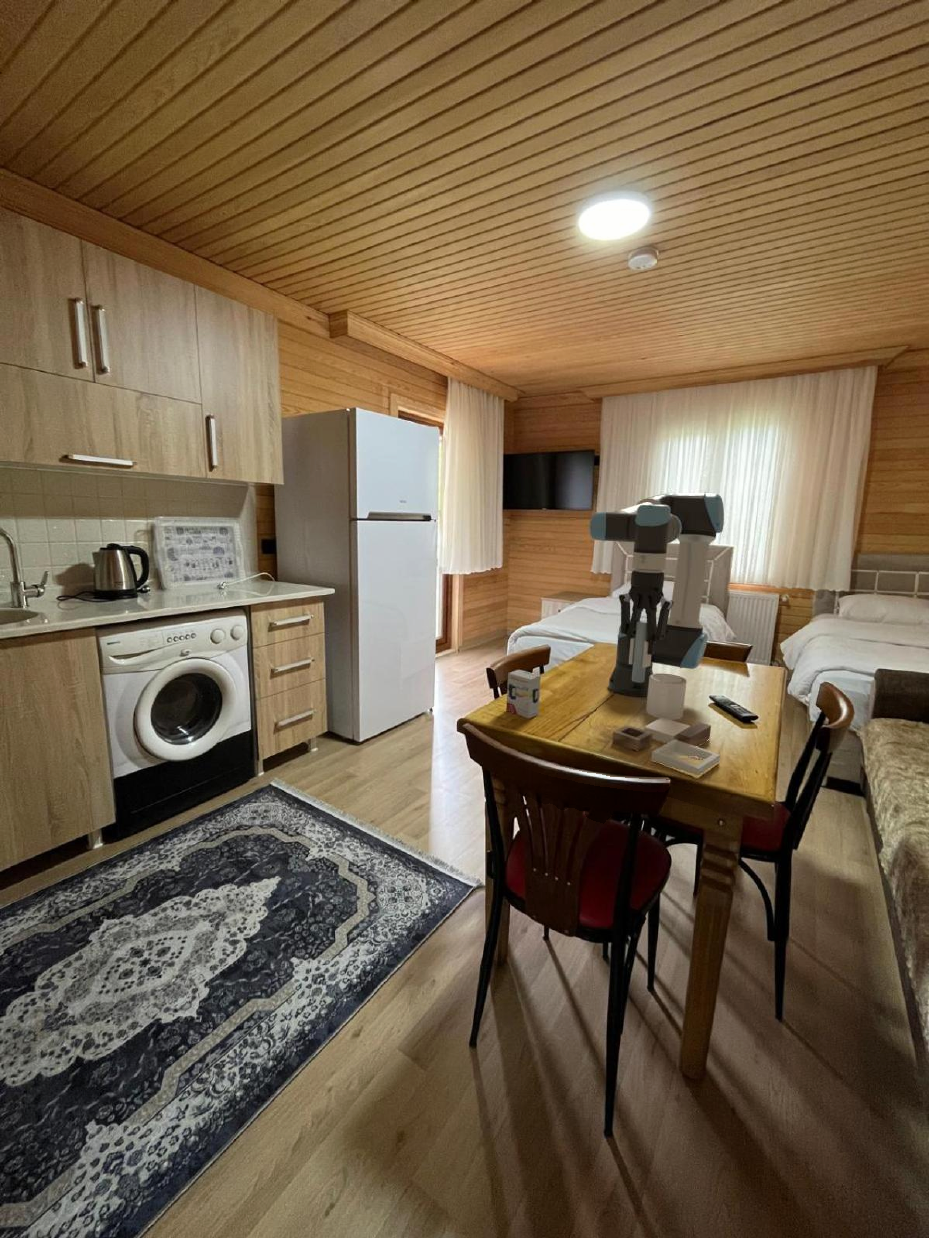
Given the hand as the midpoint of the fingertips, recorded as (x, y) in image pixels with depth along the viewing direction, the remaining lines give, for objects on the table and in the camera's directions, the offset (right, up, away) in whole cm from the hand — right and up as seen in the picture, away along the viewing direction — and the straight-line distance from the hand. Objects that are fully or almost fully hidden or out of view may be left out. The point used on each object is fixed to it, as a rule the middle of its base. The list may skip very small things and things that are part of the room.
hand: (639, 664), depth 133 cm
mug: (+15, -17, +25) cm, 34 cm away
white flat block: (+10, -20, +10) cm, 25 cm away
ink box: (-27, -16, +23) cm, 39 cm away
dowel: (0, -4, +1) cm, 4 cm away
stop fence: (+15, -21, +4) cm, 26 cm away
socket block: (-1, -20, +4) cm, 21 cm away
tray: (+9, -23, -6) cm, 25 cm away
